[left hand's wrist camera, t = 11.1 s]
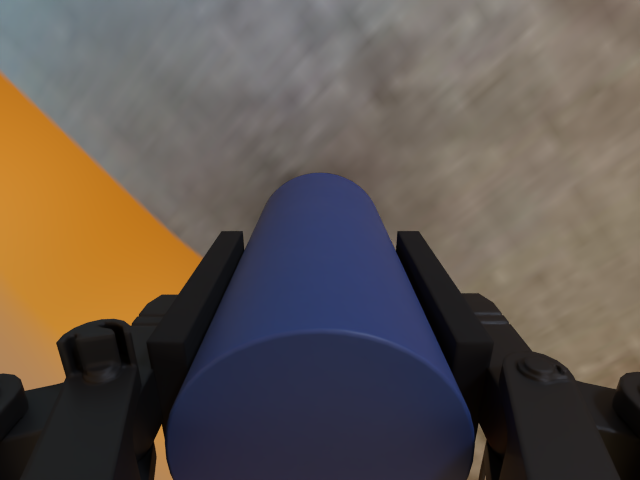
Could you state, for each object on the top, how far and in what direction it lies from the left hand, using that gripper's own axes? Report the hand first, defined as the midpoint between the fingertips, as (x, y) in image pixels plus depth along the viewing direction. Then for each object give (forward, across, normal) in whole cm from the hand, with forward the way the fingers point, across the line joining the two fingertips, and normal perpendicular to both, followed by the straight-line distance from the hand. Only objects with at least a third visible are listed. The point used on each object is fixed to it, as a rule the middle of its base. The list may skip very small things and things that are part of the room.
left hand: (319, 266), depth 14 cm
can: (+4, 0, 0) cm, 4 cm away
